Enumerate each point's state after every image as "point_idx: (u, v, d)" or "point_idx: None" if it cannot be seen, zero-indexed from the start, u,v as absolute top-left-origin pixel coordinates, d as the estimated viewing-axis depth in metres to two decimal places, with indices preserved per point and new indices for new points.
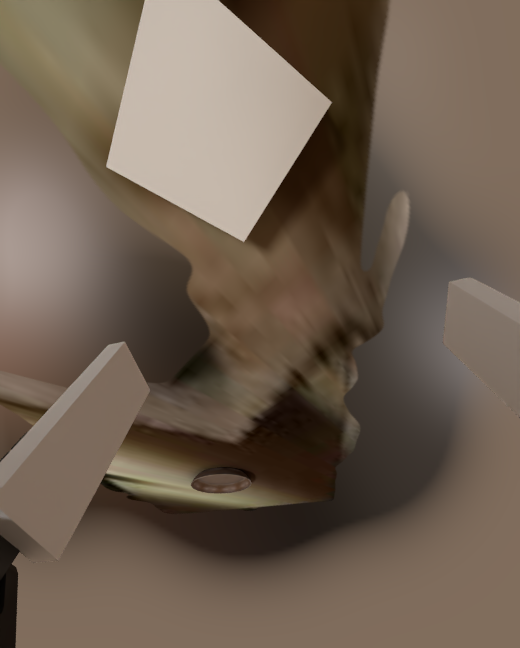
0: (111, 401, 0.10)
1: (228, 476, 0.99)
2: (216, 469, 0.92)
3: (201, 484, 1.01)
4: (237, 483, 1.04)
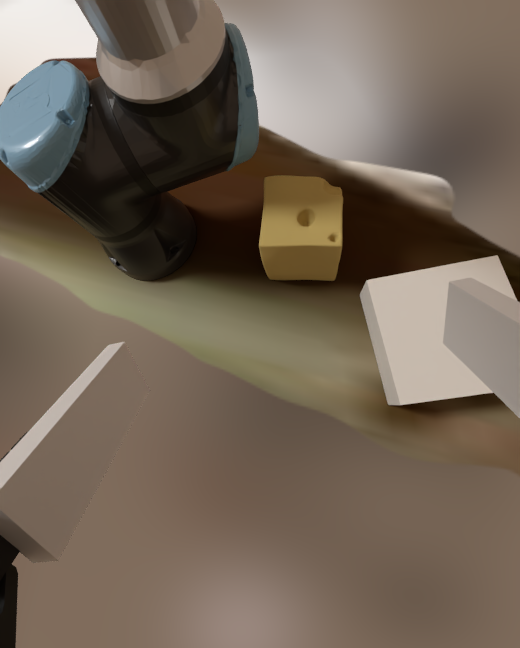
0: (111, 401, 0.10)
1: None
2: None
3: None
4: None
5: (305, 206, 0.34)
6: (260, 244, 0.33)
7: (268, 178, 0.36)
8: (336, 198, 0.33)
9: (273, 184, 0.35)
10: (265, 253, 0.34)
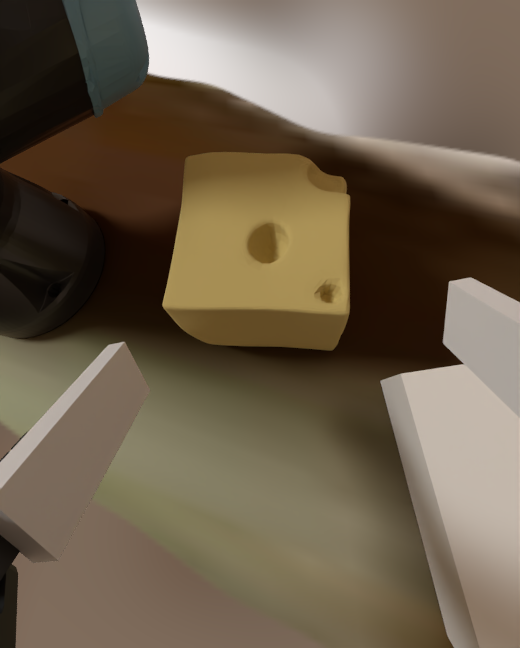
0: (111, 401, 0.10)
1: None
2: None
3: None
4: None
5: (267, 217, 0.15)
6: (165, 303, 0.15)
7: (193, 158, 0.17)
8: (335, 199, 0.15)
9: (202, 170, 0.17)
10: (181, 319, 0.16)
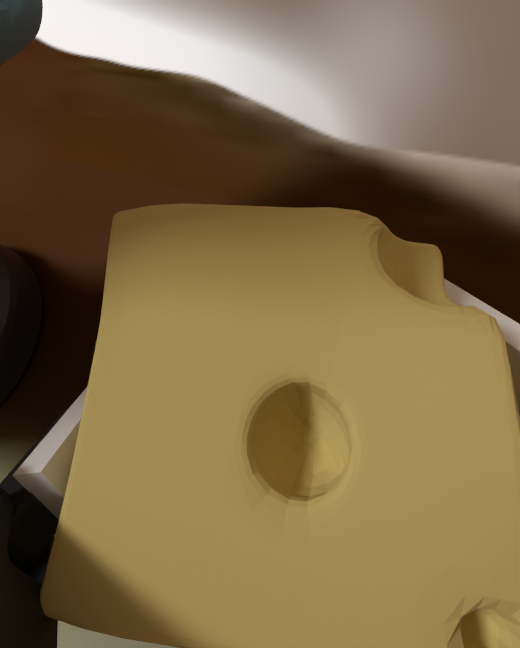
0: None
1: None
2: None
3: None
4: None
5: (293, 371, 0.06)
6: (43, 605, 0.06)
7: (127, 217, 0.08)
8: (465, 333, 0.06)
9: (144, 244, 0.08)
10: None
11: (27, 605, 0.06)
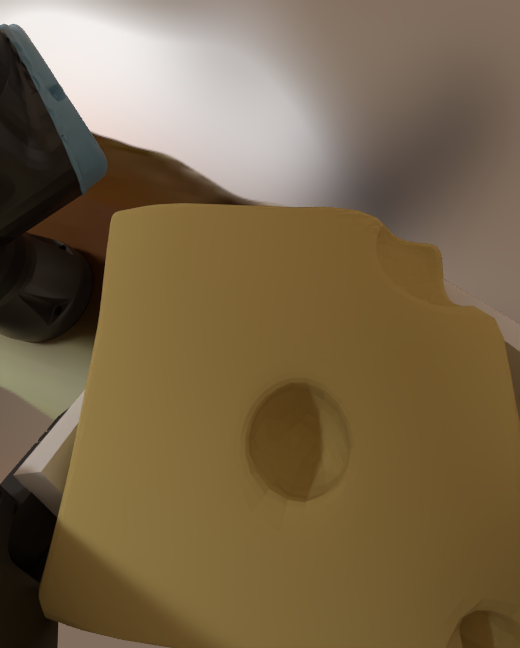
0: None
1: None
2: None
3: None
4: None
5: (291, 371, 0.06)
6: None
7: (125, 217, 0.08)
8: (464, 333, 0.06)
9: (142, 244, 0.08)
10: None
11: (28, 605, 0.06)
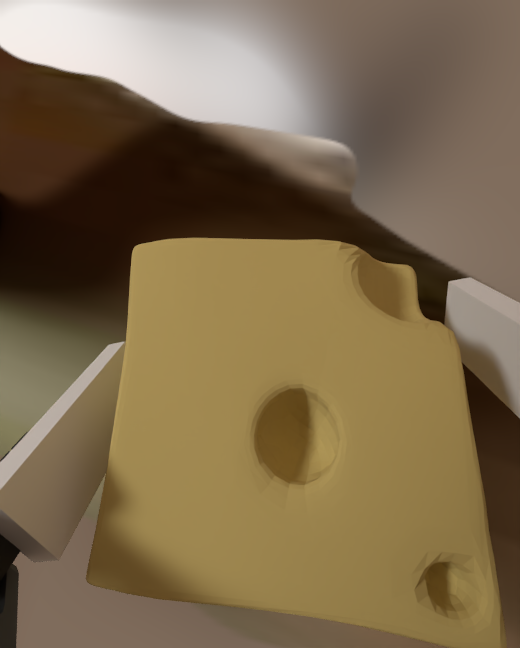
0: (111, 401, 0.10)
1: None
2: None
3: None
4: None
5: (290, 379, 0.08)
6: (91, 577, 0.07)
7: (145, 250, 0.09)
8: (428, 345, 0.07)
9: (161, 274, 0.09)
10: None
11: None
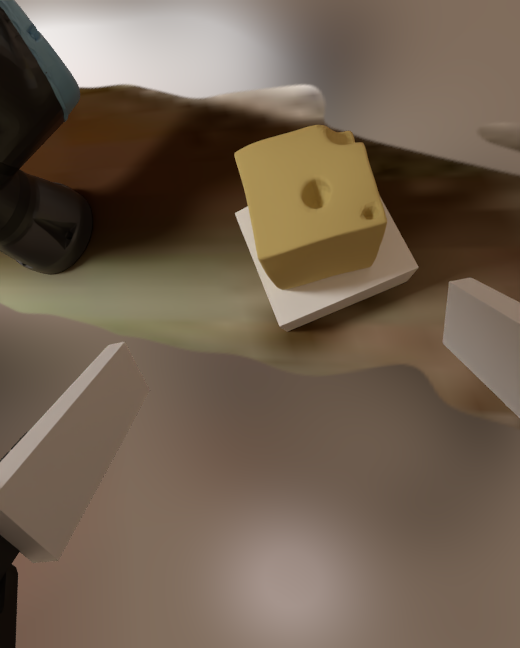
0: (111, 401, 0.10)
1: None
2: None
3: None
4: None
5: (309, 177, 0.22)
6: (259, 256, 0.22)
7: (240, 152, 0.23)
8: (354, 148, 0.21)
9: (250, 158, 0.23)
10: (270, 266, 0.23)
11: None
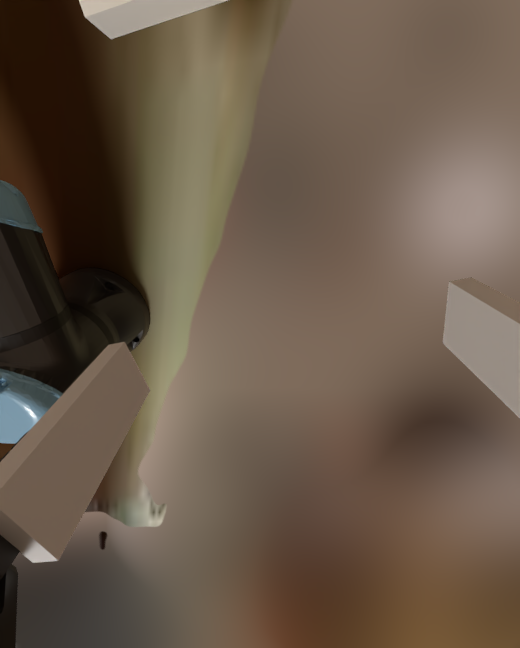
0: (111, 401, 0.10)
1: None
2: None
3: None
4: None
5: None
6: None
7: None
8: None
9: None
10: None
11: None
